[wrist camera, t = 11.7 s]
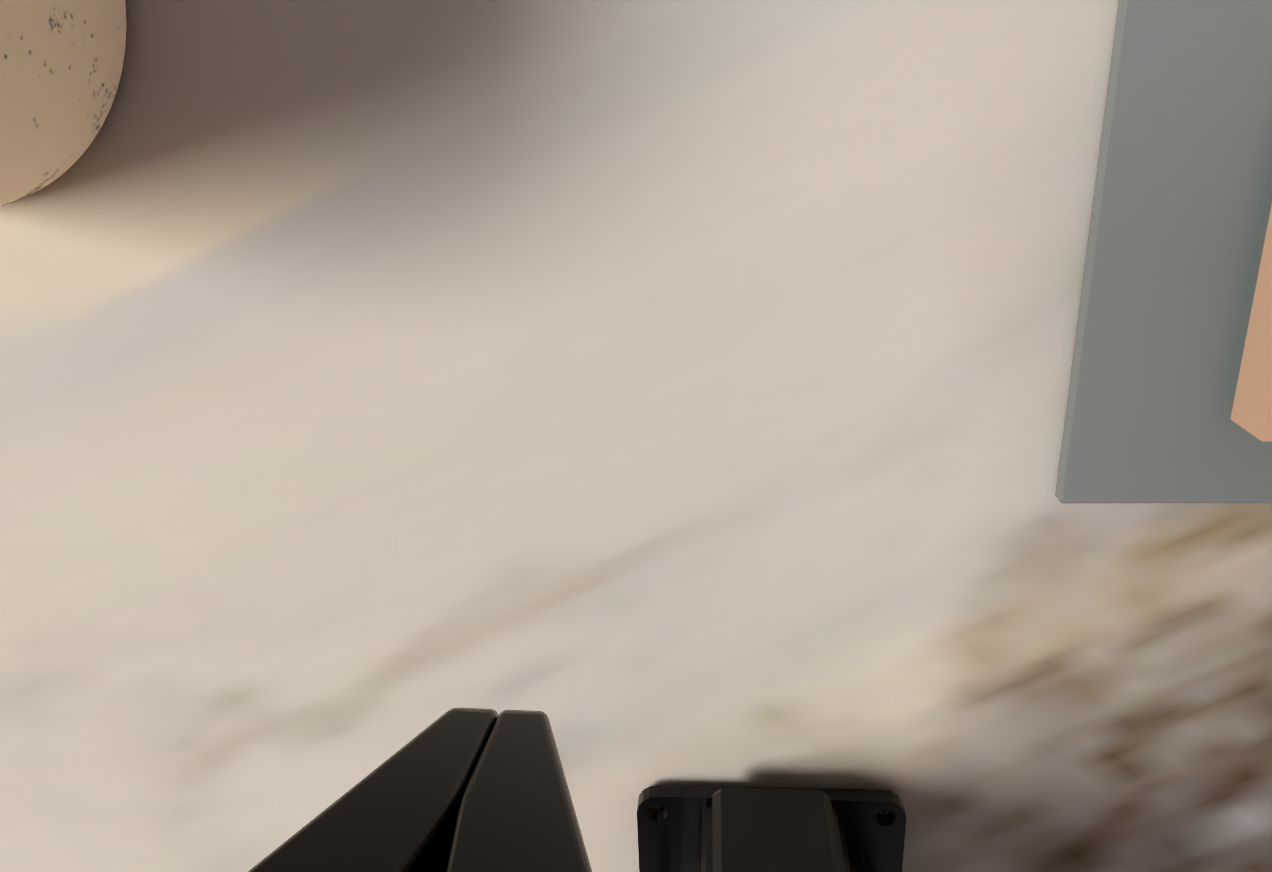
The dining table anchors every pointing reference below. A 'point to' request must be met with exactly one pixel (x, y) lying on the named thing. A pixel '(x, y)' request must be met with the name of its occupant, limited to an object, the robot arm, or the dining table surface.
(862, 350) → the dining table surface
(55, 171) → the teacup with lid
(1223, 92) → the mat
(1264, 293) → the tile
